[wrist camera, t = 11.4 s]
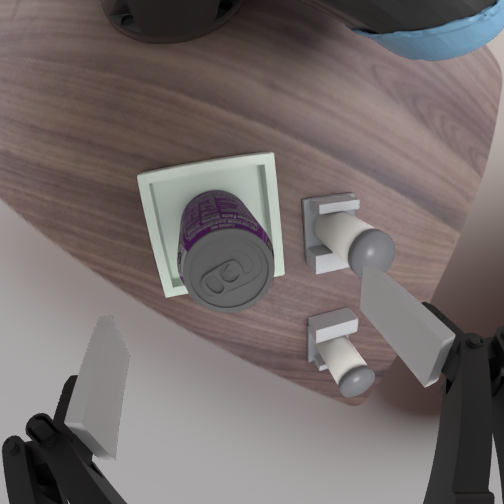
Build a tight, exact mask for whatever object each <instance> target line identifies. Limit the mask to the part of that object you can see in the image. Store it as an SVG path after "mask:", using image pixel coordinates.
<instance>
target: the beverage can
mask: <svg viewBox="0 0 504 504" xmlns="http://www.w3.org/2000/svg"><path fill="white" fill-rule="evenodd" d="M177 268H178V273H179V276H180V278H181V281H182V282H183V284H184V286H185V287H186V289H187V291H188V293H189V294H190V296H191V297H192V298H193V299H194V300H195V301H196V302H197V303H198V304H200V305H201V306H203V307H204V308H207V309H209V310H212V311H216V312H222V313H230V312H237V311H241V310H244V309H246V308H249V307H251V306H252V305H254V304H255V303H257V302H258V301H259V300H260V299H261V298H262V297H263V296H264V295H265V294H266V293H267V291H268V290H269V288H270V286H271V284H272V281H273V278H274V272H275V265H274V250H273V246H272V243H271V241H270V238H269V237H268V235H267V233H266V232H265V231H264V229H263V228H262V227H261V225H260V224H259V223H258V221H257V220H256V219H255V217H254V216H253V215H252V214H251V212H250V211H249V210H248V208H247V207H246V206H245V204H244V203H243V202H242V201H241V200H240V199H239V198H238V197H236V196H235V195H233V194H231V193H229V192H226V191H221V190H212V191H207V192H204V193H201V194H199V195H198V196H196V197H195V198H193V199H192V200H191V201H190V202H189V203H188V204H187V206H186V207H185V209H184V211H183V214H182V217H181V223H180V232H179V242H178V252H177Z"/></svg>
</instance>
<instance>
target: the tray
mask: <svg viewBox="0 0 504 504" xmlns="http://www.w3.org/2000/svg"><path fill="white" fill-rule="evenodd" d="M137 179H138V184H139V189H140V194H141V199H142V204H143V209H144V213H145V218H146V222H147V227H148V231H149V235H150V239H151V244H152V248H153V252H154V255H155V259H156V263H157V267H158V271H159V274H160V278H161V282H162V285H163V289H164V292H165V296H166V297H171V296H177V295H182V294H188V291H187V289H186V287H185V286H184V284H183V282H182V281H181V278H180V276H179V273H178V268H177V252H178V242H179V232H180V223H181V217H182V214H183V211H184V209H185V207H186V206H187V204H188V203H189V202H190V201H191V200H192V199H193V198H195V197H196V196H198V195H199V194H201V193H204V192H207V191H212V190H221V191H226V192H229V193H231V194H233V195H235V196H236V197H238V198H239V199H240V200H241V201H242V202H243V203H244V204H245V206H246V207H247V208H248V210H249V211H250V212H251V214H252V215H253V216H254V217H255V219H256V220H257V221H258V223H259V224H260V225H261V227H262V228H263V229H264V231H265V232H266V233H267V235H268V237H269V238H270V241H271V243H272V246H273V250H274V265H275V272H274V277H276V276H281V275H285V272H284V259H283V247H282V234H281V223H280V211H279V201H278V190H277V180H276V170H275V160H274V153H272V152H259V153H251V154H243V155H236V156H229V157H222V158H216V159H209V160H203V161H198V162H192V163H186V164H181V165H176V166H170V167H165V168H160V169H156V170H151V171H146V172H142V173H140V174H139V175H137Z"/></svg>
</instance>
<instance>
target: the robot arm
mask: <svg viewBox="0 0 504 504" xmlns="http://www.w3.org/2000/svg"><path fill="white" fill-rule="evenodd" d="M300 1H302V2H305V3H307V4H309V5H311V6H313V7H315V8H317V9H319V10H321V11H323V12H325V13H326V14H328V15H330V16H332V17H334V18H335V19H337V20H339V21H341V22H342V23H344V24H345V26H346V27H348V28H349V29H350V30H352V31H354V32H355V33H357V34H359V35H362V36H365V37H368V38H370V39H372V40H374V41H375V42H377V43H379V44H380V45H382V46H383V47H385V48H386V49H388V50H389V51H391V52H393V53H395V54H397V55H399V56H402V57H404V58H408V59H414V60H417V59H422V60H426V61H439V60H446V59H451V58H455V57H459V56H462V55H465V54H467V53H470V52H472V51H474V50H476V49H478V48H480V47H482V46H484V45H485V44H487V43H488V42H490V41H491V40H492V39H494V38H495V37H496V36H497V35H498V34H499V33H500V32H501V31H502V29H503V28H504V0H300ZM242 2H243V0H101V3H102V7H103V10H104V12H105V14H106V15H107V17H108V18H109V20H110V21H111V23H112V24H113V25H114V26H115V27H116V28H117V29H118V30H119V31H120V32H122V33H123V34H125V35H126V36H128V37H131V38H133V39H136V40H139V41H143V42H148V43H157V44H168V43H178V42H184V41H188V40H192V39H195V38H198V37H201V36H203V35H206V34H208V33H210V32H212V31H214V30H216V29H217V28H219V27H220V26H222V25H223V24H225V23H226V22H227V21H228V20H229V19H230V18H231V17H232V16H233V15H234V14H235V13H236V12H237V10H238V9H239V7H240V6H241V4H242ZM360 310H361V311H362V312H363V314H364V315H365V316H366V317H367V318H368V319H369V321H370V322H371V323H372V324H373V325H374V326H375V328H376V329H377V330H378V331H379V332H380V333H381V335H382V336H383V337H384V338H385V339H386V341H387V342H388V343H389V344H390V345H391V347H392V348H393V349H394V350H395V351H396V353H397V354H398V355H399V356H400V357H401V359H402V360H403V361H404V362H405V364H406V365H407V366H408V367H409V368H410V370H411V371H412V372H413V373H414V375H415V376H416V377H417V378H418V379H419V381H420V382H421V383H422V385H423V386H424V387H427V386H429V385H431V384H432V383H435V382H436V381H437V380H438V378H439V376H440V374H441V372H442V373H443V374H444V375H445V378H444V381H443V382H442V385H441V387H440V389H439V393H440V392H441V390H442V389H443V394H442V407H441V415H440V424H439V432H438V438H437V444H436V450H435V456H434V461H433V466H432V471H431V475H430V480H429V483H428V487H427V491H426V495H425V499H424V502H423V504H494V498H495V497H494V494H493V493H492V492H490V491H489V489H488V485H489V477H490V467H491V454H492V432H493V437H494V441H495V447H496V452H497V457H498V464H499V471H500V479H501V488H502V499H503V504H504V374H503V372H502V371H503V369H504V326H502V327H499V328H498V329H497V330H496V332H495V335H494V336H493V337H489V338H484V339H483V338H482V337H481V336H480V335H478V334H475V333H466V334H465V333H464V332H463V331H462V330H460V329H459V328H458V327H457V326H456V325H455V324H454V323H453V322H452V321H450V320H449V319H448V318H446V316H445V315H443V313H441V312H440V311H439V310H438V309H437V308H436V307H434V306H433V305H431V304H429V303H427V302H423V303H420V302H419V301H418V300H417V299H416V298H414V297H413V296H412V295H411V294H410V293H409V292H408V291H406V290H405V289H404V288H403V287H402V286H401V285H399V284H398V283H397V282H396V281H395V280H393V279H392V278H391V277H390V276H389V275H388V274H386V273H385V272H384V271H383V270H381V269H380V268H379V267H378V266H377V265H375V264H374V265H369V266H365V267H363V278H362V290H361V301H360ZM129 359H130V354H129V352H128V350H127V348H126V345H125V343H124V341H123V339H122V337H121V334H120V332H119V330H118V328H117V325H116V323H115V320H114V318H113V316H112V315H111V316H104V317H99V319H98V322H97V324H96V327H95V329H94V332H93V335H92V337H91V340H90V343H89V345H88V348H87V351H86V353H85V356H84V359H83V363H82V365H81V368H80V371H79V374H78V375H73V376H70V378H69V379H68V380H67V381H66V383H65V384H64V387H63V390H62V394H61V397H60V399H59V400H60V401H59V403H58V406H57V409H56V412H55V415H54V419H53V420H52V419H51V418H50V417H49V415H47V414H45V413H39V414H36V415H34V416H33V417H32V418H30V419H29V421H28V423H27V425H26V434H27V435H28V436H29V437H30V438H31V439H32V440H33V441H28V442H24V441H23V440H22V439H21V438H20V437H19V436H11V437H9V438H7V439H6V441H5V442H4V444H3V446H2V455H3V466H4V474H5V481H6V487H7V493H8V498H9V503H10V504H68V501H69V503H70V504H127V503H126V502H125V501H124V500H123V498H122V497H121V496H120V495H119V494H118V492H117V491H116V490H115V489H114V488H113V486H112V485H111V484H110V483H109V481H108V480H107V479H106V478H105V476H104V475H103V474H102V472H101V471H100V470H99V469H98V467H97V466H96V464H95V463H94V462H93V461H92V455H93V454H94V455H95V456H96V457H97V458H98V459H99V460H116V450H117V441H118V432H119V423H120V416H121V409H122V401H123V395H124V389H125V382H126V377H127V371H128V365H129ZM67 500H68V501H67Z"/></svg>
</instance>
